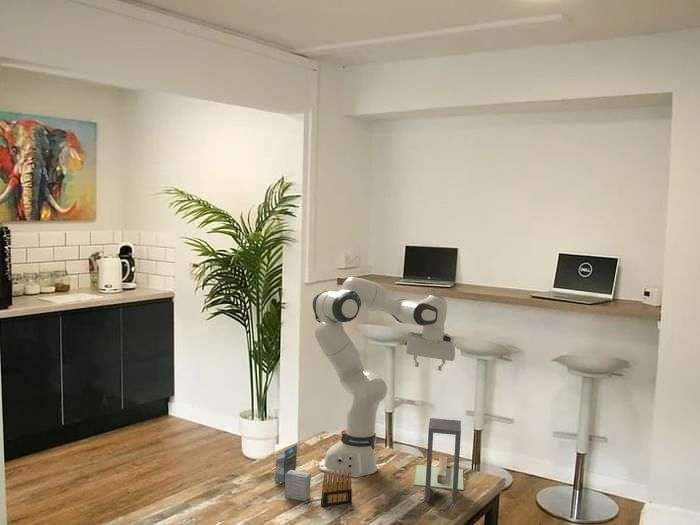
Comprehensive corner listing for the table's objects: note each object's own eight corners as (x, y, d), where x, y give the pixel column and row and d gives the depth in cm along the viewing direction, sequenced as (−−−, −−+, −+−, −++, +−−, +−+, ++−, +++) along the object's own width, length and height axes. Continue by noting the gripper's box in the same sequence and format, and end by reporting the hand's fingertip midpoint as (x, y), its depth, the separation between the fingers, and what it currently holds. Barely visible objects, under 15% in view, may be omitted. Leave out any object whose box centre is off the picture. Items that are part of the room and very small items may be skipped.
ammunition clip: (349, 501, 234) (351, 467, 234) (351, 503, 233) (353, 469, 232) (320, 505, 230) (322, 470, 229) (322, 507, 229) (323, 472, 228)
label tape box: (286, 473, 256) (288, 441, 255) (296, 476, 255) (297, 443, 254) (274, 481, 248) (275, 448, 248) (283, 484, 247) (285, 450, 246)
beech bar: (437, 482, 253) (437, 474, 253) (439, 463, 273) (439, 456, 273) (445, 483, 253) (445, 475, 252) (446, 464, 272) (447, 457, 272)
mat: (413, 485, 251) (414, 484, 250) (416, 465, 270) (416, 464, 270) (463, 490, 248) (463, 489, 248) (462, 470, 268) (462, 469, 268)
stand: (424, 501, 237) (428, 428, 235) (426, 487, 249) (429, 418, 247) (456, 504, 235) (460, 430, 234) (456, 490, 247) (460, 420, 245)
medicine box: (310, 497, 236) (311, 472, 236) (305, 502, 232) (306, 477, 232) (289, 493, 239) (290, 469, 238) (284, 498, 235) (285, 473, 234)
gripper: (407, 331, 279) (402, 365, 278) (457, 339, 276) (452, 373, 275) (408, 331, 285) (403, 364, 284) (457, 338, 282) (452, 371, 281)
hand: (428, 368), depth 280 cm, fingers open, 8 cm apart
